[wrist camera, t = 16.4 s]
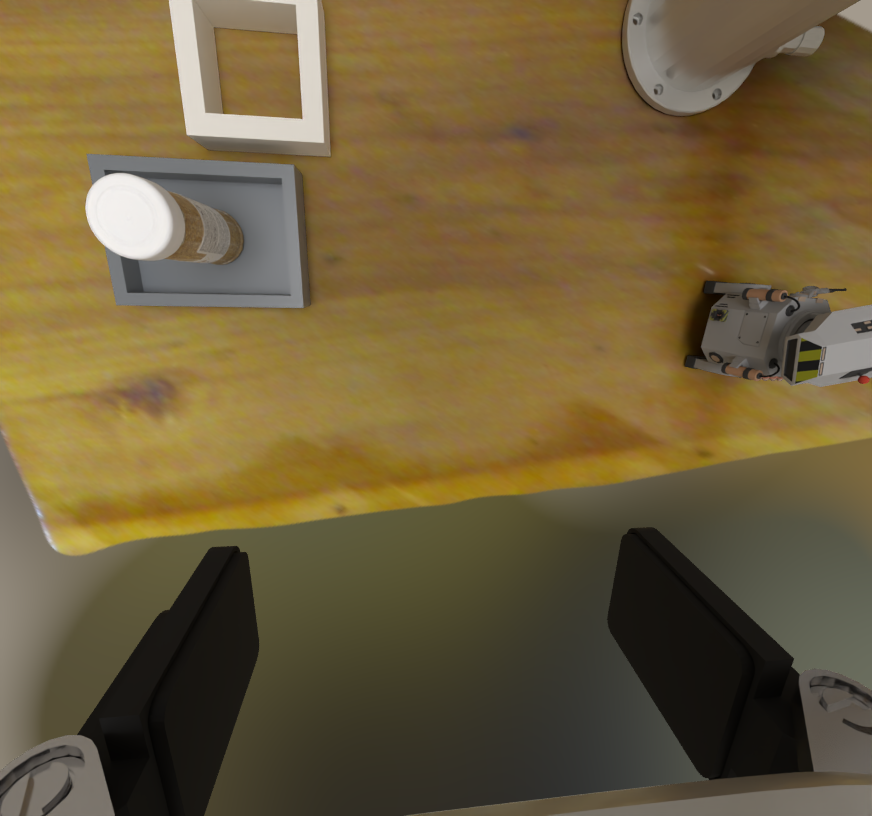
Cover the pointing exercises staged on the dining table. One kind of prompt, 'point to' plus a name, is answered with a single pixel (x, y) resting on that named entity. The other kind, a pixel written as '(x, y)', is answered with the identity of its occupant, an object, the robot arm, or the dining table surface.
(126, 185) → the sprinkles bottle
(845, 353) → the figurine
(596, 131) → the dining table surface
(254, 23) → the frame
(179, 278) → the charcoal tray
